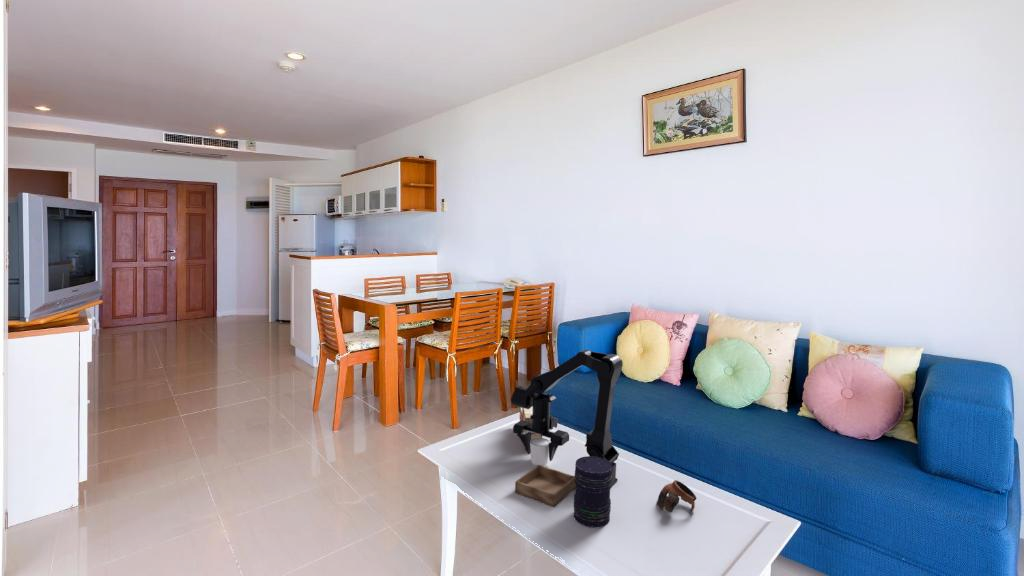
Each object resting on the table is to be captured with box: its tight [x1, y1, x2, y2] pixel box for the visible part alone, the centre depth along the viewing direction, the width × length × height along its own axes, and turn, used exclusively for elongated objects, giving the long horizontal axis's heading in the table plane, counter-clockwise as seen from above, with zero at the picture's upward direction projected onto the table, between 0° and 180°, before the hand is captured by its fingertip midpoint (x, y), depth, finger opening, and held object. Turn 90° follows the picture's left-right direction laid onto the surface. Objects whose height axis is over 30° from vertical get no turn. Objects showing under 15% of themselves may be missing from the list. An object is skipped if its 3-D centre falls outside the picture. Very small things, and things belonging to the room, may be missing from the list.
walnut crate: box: [514, 465, 576, 508], centre depth 147 cm, size 13×13×4 cm
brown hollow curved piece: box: [656, 479, 697, 514], centre depth 138 cm, size 12×10×8 cm
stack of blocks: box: [519, 406, 543, 452], centre depth 184 cm, size 21×6×12 cm, turn 5°
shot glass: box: [530, 437, 551, 466], centre depth 165 cm, size 7×7×7 cm
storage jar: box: [573, 455, 612, 529], centre depth 133 cm, size 10×10×15 cm
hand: (539, 457), depth 165 cm, fingers open, 8 cm apart
